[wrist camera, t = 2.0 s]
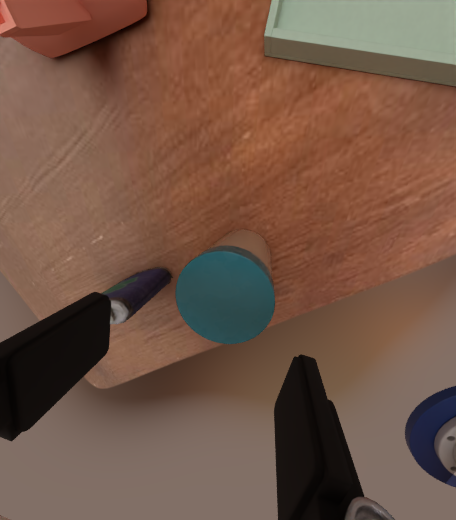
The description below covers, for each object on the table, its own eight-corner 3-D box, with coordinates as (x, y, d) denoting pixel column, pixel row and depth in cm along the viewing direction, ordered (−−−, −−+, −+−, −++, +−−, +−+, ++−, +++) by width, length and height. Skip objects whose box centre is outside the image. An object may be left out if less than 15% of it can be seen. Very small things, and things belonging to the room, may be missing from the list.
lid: (287, 259, 15) (290, 267, 13) (261, 339, 17) (260, 356, 15) (193, 234, 15) (183, 239, 14) (179, 314, 17) (169, 327, 16)
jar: (278, 237, 23) (286, 266, 13) (262, 290, 25) (258, 350, 15) (221, 223, 24) (187, 239, 14) (209, 275, 26) (173, 323, 16)
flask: (120, 302, 30) (43, 355, 19) (110, 283, 29) (25, 328, 19) (176, 282, 27) (121, 331, 17) (166, 261, 27) (103, 299, 16)
